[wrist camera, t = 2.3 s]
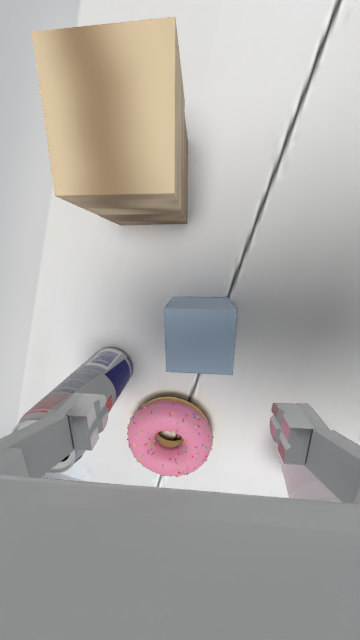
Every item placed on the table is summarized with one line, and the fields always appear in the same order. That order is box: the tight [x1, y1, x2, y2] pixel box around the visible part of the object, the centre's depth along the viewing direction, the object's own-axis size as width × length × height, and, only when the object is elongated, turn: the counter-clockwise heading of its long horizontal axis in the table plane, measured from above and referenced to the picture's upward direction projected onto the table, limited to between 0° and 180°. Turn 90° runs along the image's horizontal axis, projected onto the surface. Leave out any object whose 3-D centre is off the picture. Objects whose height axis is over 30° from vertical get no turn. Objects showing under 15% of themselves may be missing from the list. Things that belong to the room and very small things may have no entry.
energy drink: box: [12, 348, 133, 474], centre depth 20 cm, size 5×5×12 cm
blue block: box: [164, 297, 237, 375], centre depth 20 cm, size 6×6×6 cm
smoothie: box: [275, 442, 341, 502], centre depth 20 cm, size 6×6×14 cm
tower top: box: [32, 17, 185, 215], centre depth 13 cm, size 7×7×5 cm
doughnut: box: [127, 397, 214, 477], centre depth 26 cm, size 11×11×4 cm
